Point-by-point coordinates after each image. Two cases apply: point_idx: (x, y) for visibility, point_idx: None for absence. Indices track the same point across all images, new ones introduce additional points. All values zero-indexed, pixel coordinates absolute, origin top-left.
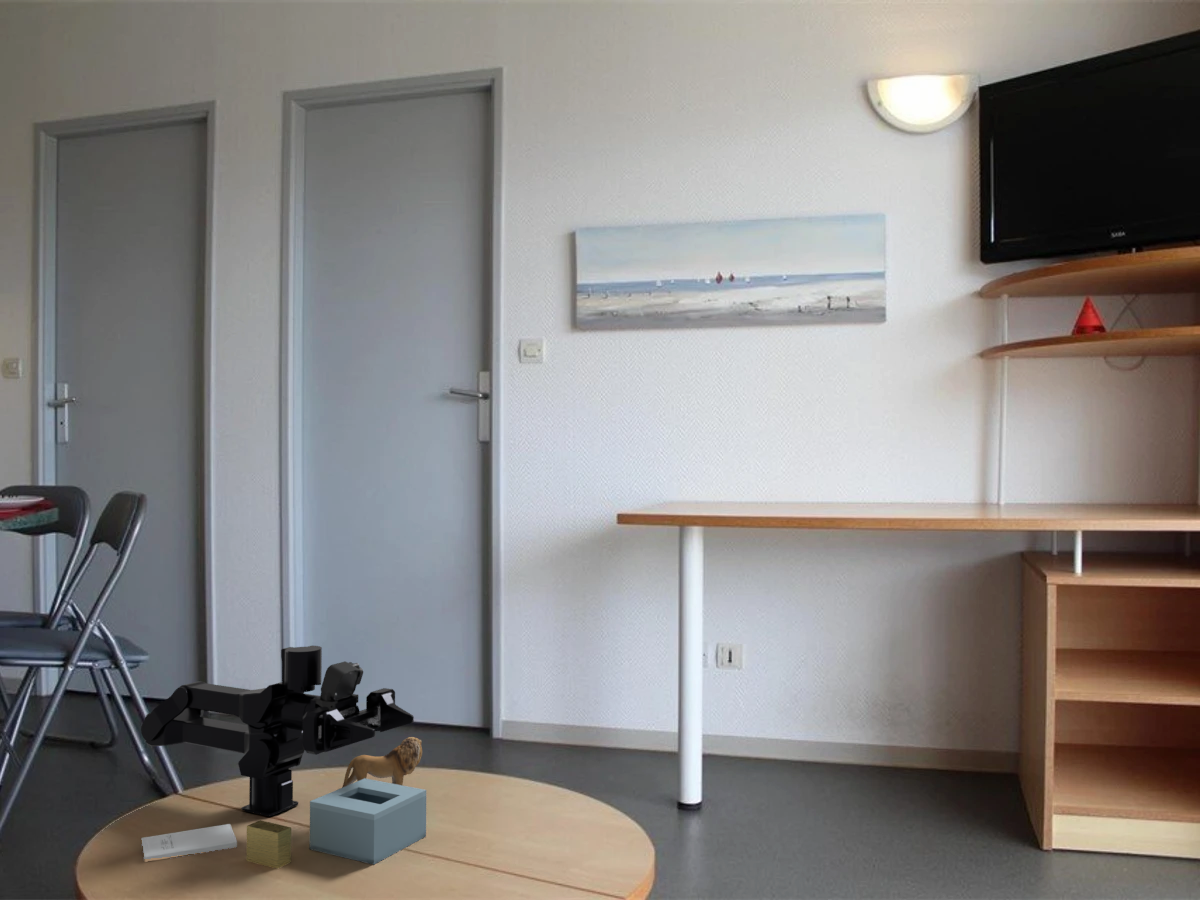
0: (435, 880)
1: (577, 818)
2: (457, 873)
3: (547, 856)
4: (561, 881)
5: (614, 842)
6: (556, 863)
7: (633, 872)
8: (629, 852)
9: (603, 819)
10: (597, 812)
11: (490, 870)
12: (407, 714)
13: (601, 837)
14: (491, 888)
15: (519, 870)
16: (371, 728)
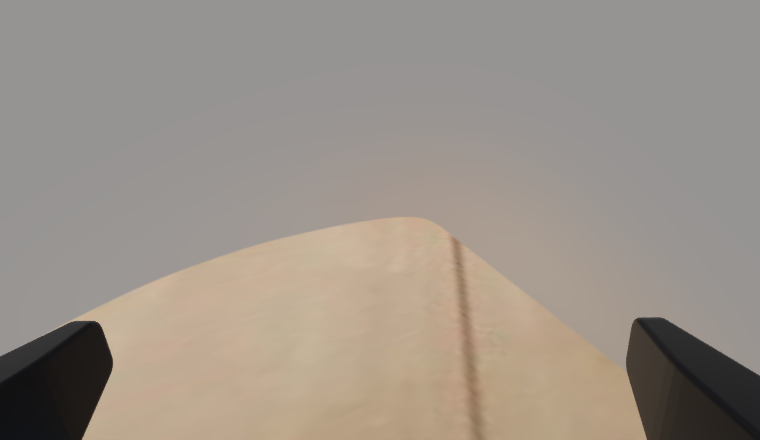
0: (602, 406)
1: (131, 339)
2: (535, 389)
3: (360, 308)
4: (448, 265)
5: (259, 266)
6: (384, 290)
7: (368, 226)
8: (296, 245)
9: (137, 307)
10: None
11: (477, 349)
12: (60, 345)
13: (239, 283)
14: (545, 317)
15: (445, 316)
16: (657, 328)
